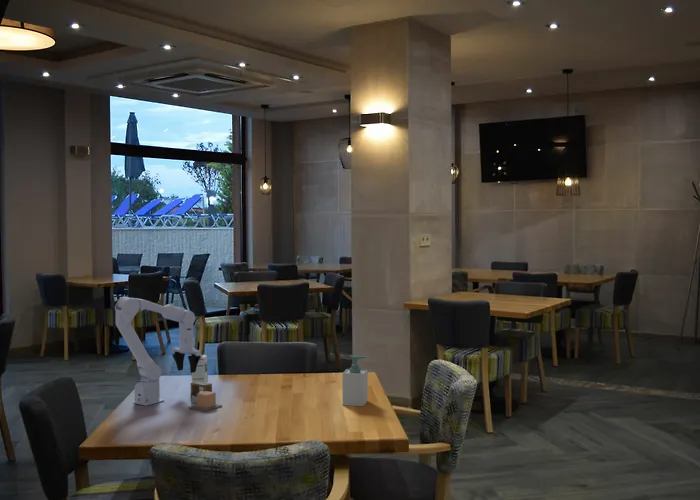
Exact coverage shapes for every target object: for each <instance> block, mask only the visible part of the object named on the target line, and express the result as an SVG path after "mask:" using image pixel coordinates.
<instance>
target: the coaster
mask: <svg viewBox="0 0 700 500" xmlns="http://www.w3.org/2000/svg"><path fill="white" fill-rule="evenodd" d="M220 408H223V404H217V403H216V405H215V406H212V407H208V408H203V407H198V406H197V404H194V405H191V406H188V409H190V410H194V411H195V410H196V411H200V412H204V413H206V412H210V411H213V410H217V409H220Z"/></svg>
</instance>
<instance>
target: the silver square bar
mask: <svg viewBox="0 0 700 500" xmlns="http://www.w3.org/2000/svg"><path fill="white" fill-rule="evenodd" d="M201 392H203V390H199V392H198V393H201ZM191 404H197V394H195V395H193V396H192V399H191Z"/></svg>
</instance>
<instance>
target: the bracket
mask: <svg viewBox="0 0 700 500" xmlns="http://www.w3.org/2000/svg"><path fill="white" fill-rule="evenodd" d="M199 386H200V387H203V392H205V391H209V392H213V383H211V382H208V383H206V382H200V381H196V382H192V381H191V382H190V400H192V396H193V395H195V394H197V393H198V392H200V390H199Z"/></svg>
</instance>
